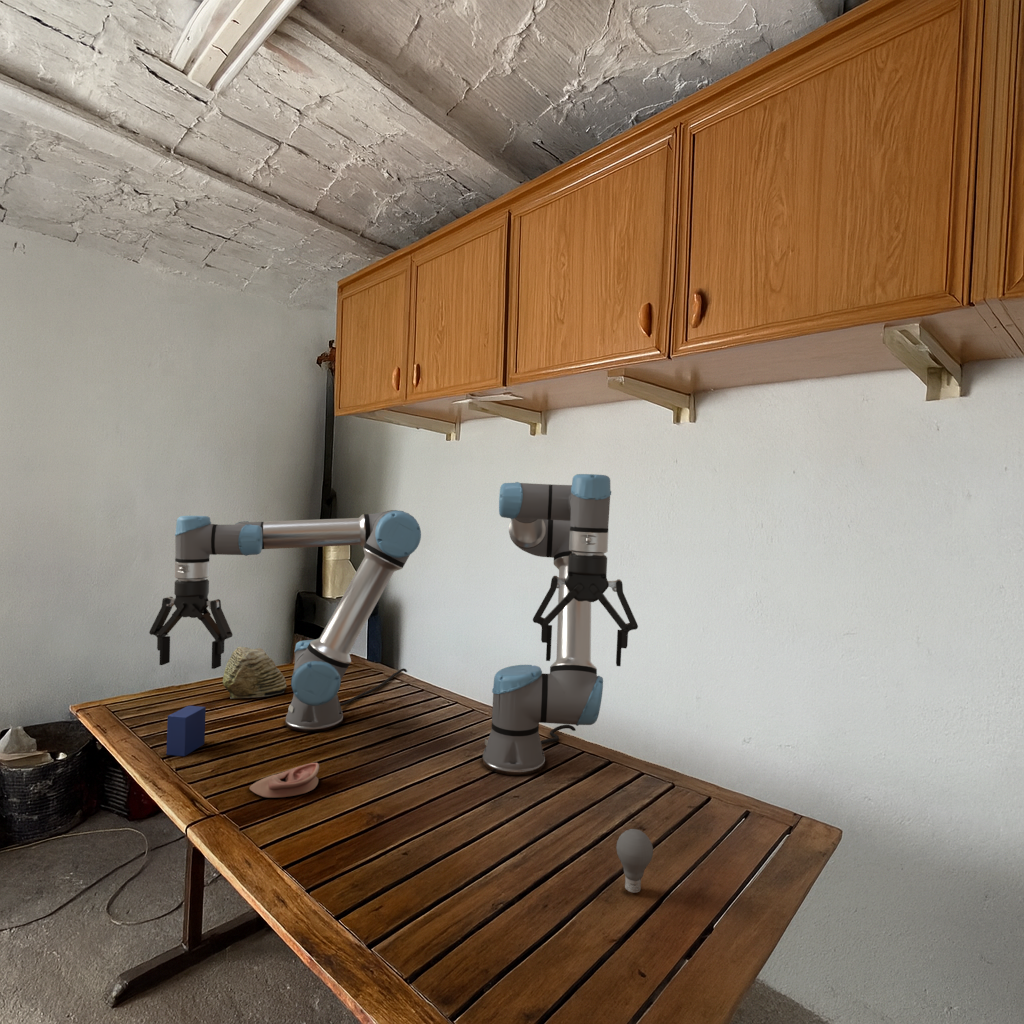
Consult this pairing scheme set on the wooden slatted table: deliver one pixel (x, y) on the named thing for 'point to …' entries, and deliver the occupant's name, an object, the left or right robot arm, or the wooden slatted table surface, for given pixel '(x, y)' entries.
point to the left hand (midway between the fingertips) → (190, 665)
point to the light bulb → (634, 857)
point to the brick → (186, 730)
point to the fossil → (252, 674)
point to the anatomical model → (288, 782)
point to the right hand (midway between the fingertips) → (583, 662)
